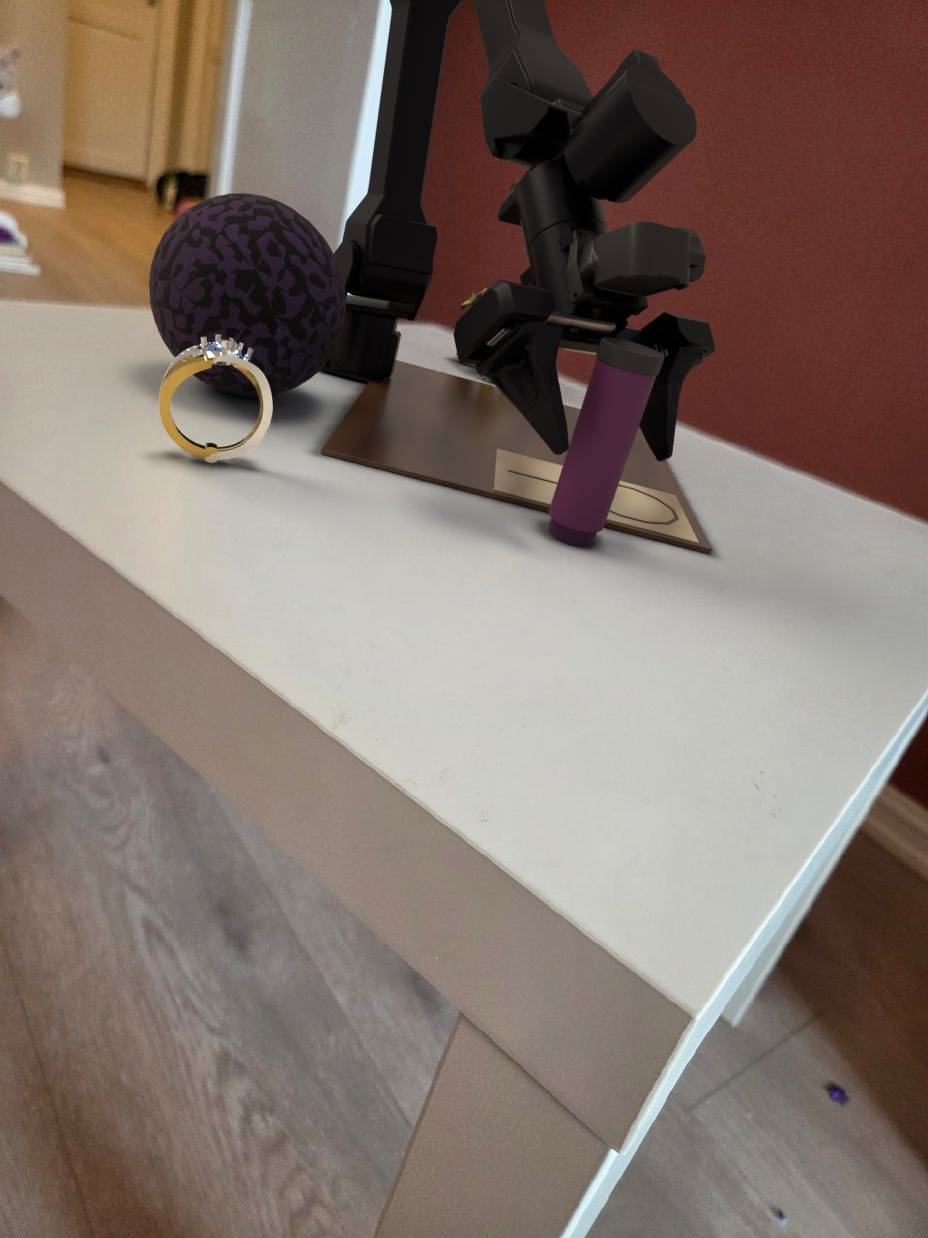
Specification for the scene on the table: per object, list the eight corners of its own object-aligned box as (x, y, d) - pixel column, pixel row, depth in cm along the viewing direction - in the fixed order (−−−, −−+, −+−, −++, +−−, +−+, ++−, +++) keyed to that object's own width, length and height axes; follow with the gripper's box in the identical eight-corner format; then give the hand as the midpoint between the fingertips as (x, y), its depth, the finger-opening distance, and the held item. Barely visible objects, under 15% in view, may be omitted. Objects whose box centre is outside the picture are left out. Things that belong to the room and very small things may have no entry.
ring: (261, 459, 60) (278, 342, 57) (266, 476, 58) (284, 354, 54) (153, 444, 58) (164, 320, 54) (153, 461, 55) (165, 333, 52)
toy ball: (182, 351, 79) (200, 169, 73) (344, 395, 80) (377, 219, 73) (108, 386, 66) (122, 167, 59) (303, 439, 66) (339, 228, 60)
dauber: (542, 539, 60) (604, 343, 54) (541, 518, 64) (598, 332, 58) (601, 554, 61) (669, 361, 55) (596, 532, 64) (659, 349, 58)
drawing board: (320, 453, 65) (321, 446, 64) (385, 360, 97) (386, 355, 96) (710, 554, 66) (713, 547, 66) (647, 430, 99) (648, 425, 98)
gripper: (529, 129, 49) (587, 386, 46) (748, 199, 60) (806, 413, 57) (431, 247, 58) (474, 468, 56) (635, 290, 69) (680, 478, 66)
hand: (615, 456), depth 58 cm, fingers open, 9 cm apart
